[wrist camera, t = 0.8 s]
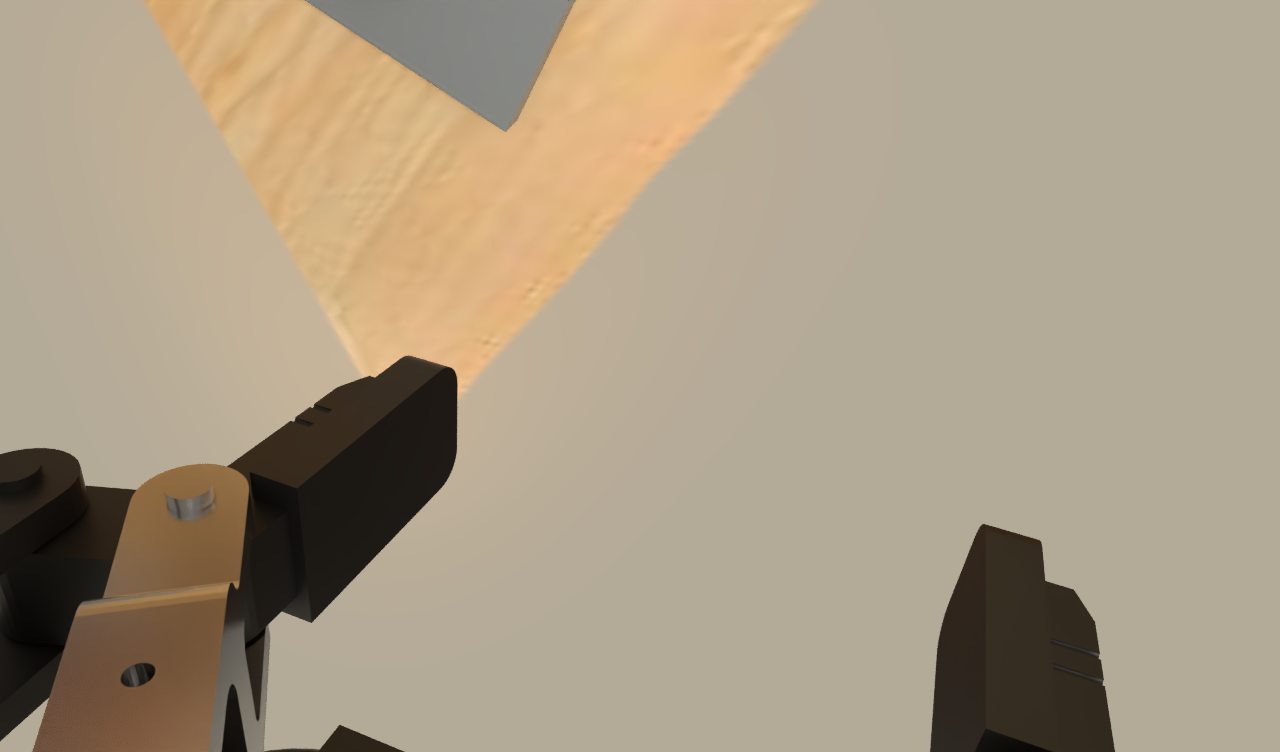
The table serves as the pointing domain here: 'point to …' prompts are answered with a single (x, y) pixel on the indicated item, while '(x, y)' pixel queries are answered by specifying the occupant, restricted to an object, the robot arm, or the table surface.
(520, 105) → the building board
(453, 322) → the table surface
